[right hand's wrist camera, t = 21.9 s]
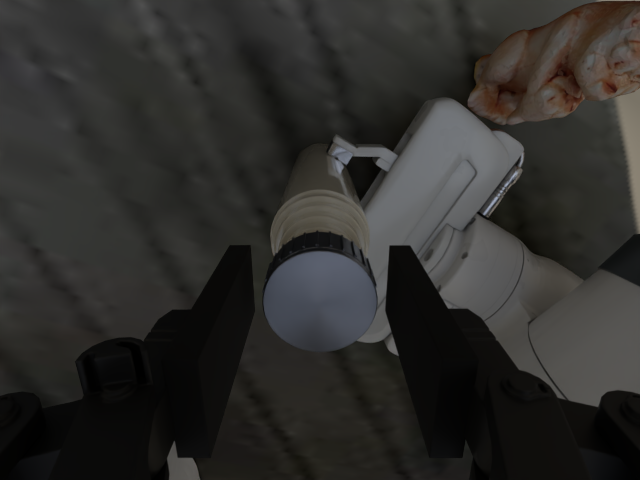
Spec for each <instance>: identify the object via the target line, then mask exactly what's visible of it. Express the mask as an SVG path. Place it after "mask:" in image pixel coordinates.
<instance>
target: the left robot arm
mask: <svg viewBox="0 0 640 480" xmlns="http://www.w3.org/2000/svg"><path fill="white" fill-rule="evenodd" d="M326 153H327V154H329V155H330V156H332V157H334V158H336V157H338V160H339V161H340V162H342V163H344V164H345V165H347V164H348V162H349V161H350V159H351V157H352V156H358V157H373V158H372V159H373V162H374V163H375V164H376V165H377V166H379V167H380V168H382V169H381V170H380V172H379V173H378V175H377V177H376V178H375V180H374V181H373V183H372V184H371V186H370V187H369V189H368V190H367V192H366V194H365V195H364V197H363V198H362V200H361V201H360V203H361V206H362V209H363V211H364V214H365V217H366V219H367V222H368V226H369V231H370V242H369V249H368V254H367V256H366V258H368V259H369V262H370V266H371V269H372V271H373V274H374V278H375V281H376V284H377V288H376V291H377V296H378V305H377V311H376V315H375V318H374V320H373V322H372V324H371V326H370V327H369V329H368V330H367V331H366V332H365V333H364V335H362V336H361V337H360V338H359V339H358V340H357V341H360V342H365V343H374V342H378V341H381V340H383V339H384V342H385V344H386V346H387V348H388V350H389V351H390V352H392V353H393V354H395V355H397V356H399V355H398V352H397V349H396V345H395V342H394V339H393V335H392V332H391V329H390V325H389V322H388V319H387V316H386V312H385V304H386V289H387V274H388V259H389V245H410V246H411V247H412V249H413V251H414V252H415V254H416V256H417V257H418V259H419V261H420V262H421V264H422V266H423V267H424V269H425V271H426V272H427V274H428V276H429V277H430V279H431V281H432V282H433V284H434V286H435V287H436V289H437V291H438V292H439V294H440V296H441V297H442V299H443V301H444V302H445V304H446V306H447V307H448V309H469V310H471V311H472V312H473V313H475V314H476V315H478V316H479V317H481V318H482V319H483V321H484V322H485V324H486V325H487V326H488V328H489V331H491V332H492V333H493V335H494V336H495V337H496V340H498V341H499V343H500V344H501V346H502V347H503V348H504V350H505V351H506V352H507V354H508V355H509V357H510V358H511V359H512V361H513V362H514V363H515V365H516V366H517V368H518V369H519V370H522V371H526V372H529V373H531V374H533V375H535V376H537V377H539V378H541V379H542V380H543V381H544V382H546V383H547V384H548V385H550V387H551V388H552V389H553V391H554V392H555V394H556V395H557V397H558V398H561V399H565V400H569V401H573V402H578V403H582V404H587V405H592V406H596V407H598V406H599V403H600V400H601V396H603V395H604V394H605V393H606V392H608V391H615V390H622V391H629V392H634V393H638V394H640V234H635V235H633V236H632V237H631V238H630V239H629V240H628V241H627V242H626V243H625V244H623V245H622V246H621V247H620V248H619V249H618V250H617V251H616V252H615V253H614V254H613V255H611V256H610V257H609V258H608V259H607V260H606V261H605V262H604V263H603V264H602V265H600V266H599V267H598V269H599V270H598V271H597V272H596V273H594V274H593V275H592V276H590V277H589V278H588V279H586V280H585V281H584V280H582V279H581V278H579V277H578V276H577V275H575V274H574V273H572V272H571V271H569V270H568V269H566V268H565V267H563V266H562V265H560V264H559V263H557V262H555V261H553V260H551V259H549V258H546V257H543V256H539V255H535V254H533V253H532V252H530V251H529V250H528V248H527V247H526V246H525V245H524V244H523V243H522V242H521V241H520V240H519V239H518V238H517V237H515V236H513V235H512V234H510V233H509V232H507V231H505V230H504V229H502V228H501V227H499V226H497V225H496V224H494V223H493V222H491V221H489V219H488V218H489V217H490V216H491V214H492V213H493V212H494V210H495V209H496V208H497V207H498V205H499V204H500V202H501V201H502V199H503V198H504V196H505V194H506V192H507V191H508V190H509V189H510V188H511V186H512V185H514V184H515V183H516V182H517V181H518V179H519V178H520V176H521V175H522V173H523V169H522V168H521V167H522V165H523V162H524V156H525V154H524V148H523V146H522V144H521V143H520V142H519V141H518V140H517V139H515V138H514V137H512V136H511V135H510V134H508V133H507V132H505V131H503V130H501V129H489V128H488V127H487V126H486V125H485V124H484V123H483V122H482V121H481V120H479V119H478V118H477V117H476V116H475V115H474V114H473V113H471V112H470V111H469V110H468V109H466V108H465V107H464V106H462V105H461V104H460V103H458V102H457V101H455V100H453V99H451V98H447V97H441V98H435V99H431V100H428V101H426V102H425V103H424V104H423V106H422V107H421V109H420V110H419V112H418V113H417V115H416V116H415V118H414V119H413V121H412V122H411V124H410V126H409V127H408V129H407V130H406V132H405V133H404V135H403V136H402V138H401V139H400V141H399V143H398V144H397V146H396V147H395V149H394V150H393V152H392V151H391V150H389V149H388V148H386V147H384V146H383V145H381V144H356V145H354V144H352V143H350V142H349V141H347V140H345V139H344V138H342V137H341V136H339V135H337V134H335V136H334V138H333V139H332V141H331V143H330V145H329V146H328V148H327V150H326ZM517 160H518V162H517V164H516V165H515V163H516V161H517ZM167 461H168V466H169V474H170V475H169V480H200V477H199V473H198V469H197V466H196V463H195V462H194V460H193V458H178V457H177V451H176V445H175V441H174V443H173V445H172V448H171V450H170V452H169V455H168V457H167Z"/></svg>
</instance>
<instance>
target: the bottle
mask: <svg viewBox="0 0 640 480" xmlns="http://www.w3.org/2000/svg"><path fill="white" fill-rule="evenodd" d="M328 146H329V145H328V144H322V143H318V144H313V145H310V146H308V147H306V148H305V149H303V150H302V151H301V152H300V154H299V155H298V157H297V159H296V161H295V164H294V167H293V169H292V172H291V175H290V177H289V180H288V183H287V185H286V188H285V191H284V193H283V196H282V199H281V201H280V204H279V207H278V209H277V212H276V215H275V217H274V220H273V223H272V227H271V234H270V237H271V248H272V253H273V256H274V255H275V253H278V251H279V250H280V249H281V248H282V245H283V244H286V243H287V242H289V241H290V240H292V237H295V238H296V237H298V236H300V235H303V234H304V233H305V232H306V233H311V232H316V231H317V230H318V231H319V232H329V231H331V233H334V234H338V235H340V236H341V235H343V237H345V238H347V239H348V240H350V241H352V240H353V241H354V244H355V245H356V246H358V248H359V249H362V250H363V253H364V255H365V257H366V256H367V254H368V249H369V242H370V231H369V226H368V222H367V219H366V217H365V214H364V211H363V209H362V206H361V203H360V201H359V198H358V195H357V193H356V190H355V187H354V185H353V182H352V179H351V177H350V174H349V171H348V169H347V166H346V165H345V164H344V163H342V162H340V161H339V160H338V157H336V158H334V157H332V156H330V155H329V154H327V153H326V150H327V148H328Z"/></svg>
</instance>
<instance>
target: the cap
mask: <svg viewBox="0 0 640 480" xmlns="http://www.w3.org/2000/svg"><path fill="white" fill-rule="evenodd" d="M376 288H377V284H376V281H375V278H374V274H373V271H372V269H371V266H370V262H369V259H368V258H366V257H365V255H364V253H363V250H362V249H359V248H358V246H356V245H355V244H354V241H353V240H352V241H350V240H348V239H347V238H345V237H343V235H341V236H340V235H338V234H334V233H331V231H329V232H319V231H318V230H317V231H316V232H311V233H306V232H305V233H304V234H303V235H300V236H298V237H296V238H295V237H292V240H290V241H289V242H287V243H286V244H283V245H282V248H281V249H280V250H279V251H278V253H275V255H274V258H273V261H272V263H271V262H270V265H269V268H268V271H267V275H266V278H265V284H264V288H263V292H262V293H263V310H264V314H265V317H266V319H267V322H268V324H269V325H270V327H271V328H272V330H273V331H274V332H275V333H276V334H277V335H278V336H279V337H280V338H281V339H282V340H284V341H285V342H286V343H288V344H290V345H292V346H294V347H296V348H299V349H302V350H306V351H312V352H328V351H334V350H338V349H341V348H344V347H346V346H348V345H350V344H352V343H354V342H355V341H357V340H358V339H359V338H360V337H361V336H362V335H364V333H365V332H366V331H367V330H368V329H369V327H370V326H371V324H372V322H373V320H374V318H375V315H376V311H377V305H378V296H377V291H376Z"/></svg>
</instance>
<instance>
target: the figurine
mask: <svg viewBox="0 0 640 480" xmlns="http://www.w3.org/2000/svg"><path fill="white" fill-rule="evenodd" d="M474 78H475V81H476V86H475V88H474V89H473V91H472V92H471V93H470V96H469V99H468V107H469V108H470V110H471V111H473V112H474V113H475V114H476V115H478V116H481V117H483V118H486V119H488V120H490V121H492V122H494V123H497V124H500V125H504V124H509V125H514V124H517V123H521V122H524V121H533V122H535V121H542V120H547V119H551V118H561V117H565V116H567V115H568V114H570V113H571V112H573V111H574V110H575V109H576V108H577V107H578V105H579V104H580V102H582V101H583V100H584V99H586V100H590V101H602V100H605V99H610V98H614V97H617V96H620V95H625V94H629V93H632V92H635V91H636V90H638V89H639V88H640V1H601V2H595V3H589V4H585V5H582V6H579V7H577V8H574V9H572V10H571V11H569V12H567V13H565V14H564V15H562V16H560V17H559V18H557V19H555V20H554V21H552V22H550V23H549V24H547V25H544V26H541V27H538V28H534V29H531V30H521V31H517V32H515V33H513V34H511V35H510V36H509V37H507V38H506V39H505V40H504V41H503V42H502V43H501V44H500V45H499V46H498V47H497V48H496V49H495V51H494V52H493V53H492V54H488V55H485V56H482V57H481V58H480V59H479V60H478V61H477V62H476V65H475V71H474Z"/></svg>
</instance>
